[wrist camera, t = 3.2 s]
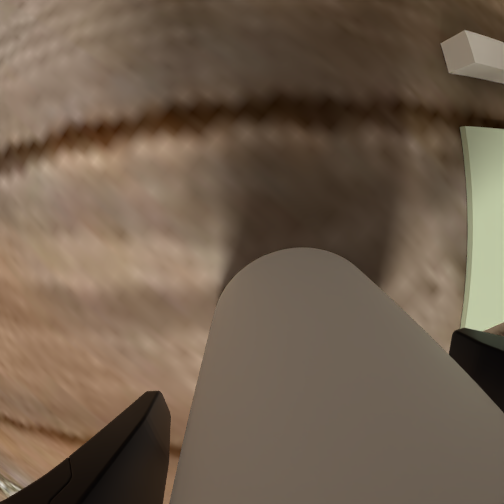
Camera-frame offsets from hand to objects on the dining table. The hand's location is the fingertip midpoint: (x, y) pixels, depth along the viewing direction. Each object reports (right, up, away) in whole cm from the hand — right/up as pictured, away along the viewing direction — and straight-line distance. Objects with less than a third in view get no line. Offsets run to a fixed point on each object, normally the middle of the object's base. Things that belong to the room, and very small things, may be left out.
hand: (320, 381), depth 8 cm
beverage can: (0, +1, +4) cm, 5 cm away
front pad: (+13, +5, +4) cm, 14 cm away
